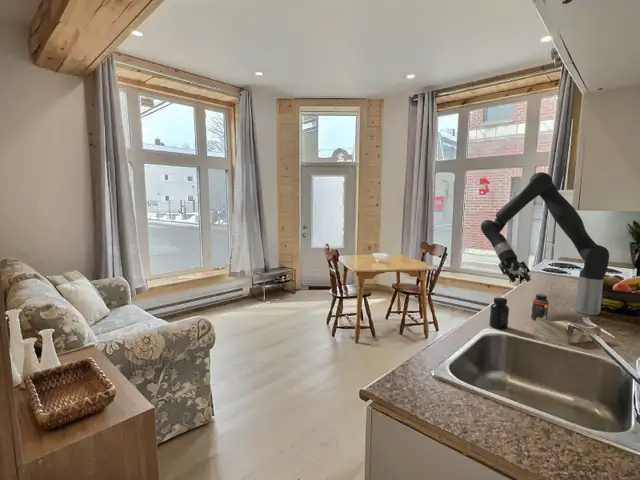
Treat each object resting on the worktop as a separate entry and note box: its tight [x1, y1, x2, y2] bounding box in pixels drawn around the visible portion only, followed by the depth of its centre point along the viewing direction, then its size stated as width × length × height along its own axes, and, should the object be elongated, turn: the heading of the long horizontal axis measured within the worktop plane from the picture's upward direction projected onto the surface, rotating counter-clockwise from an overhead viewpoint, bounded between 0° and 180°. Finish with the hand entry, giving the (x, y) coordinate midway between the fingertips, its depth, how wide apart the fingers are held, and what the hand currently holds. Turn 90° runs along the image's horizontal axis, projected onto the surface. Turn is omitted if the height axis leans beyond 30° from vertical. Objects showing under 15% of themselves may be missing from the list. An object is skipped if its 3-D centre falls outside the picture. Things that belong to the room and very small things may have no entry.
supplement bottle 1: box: [488, 296, 510, 330], centre depth 145 cm, size 7×7×12 cm
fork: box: [582, 316, 616, 339], centre depth 148 cm, size 3×20×2 cm, turn 172°
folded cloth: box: [534, 317, 602, 345], centre depth 139 cm, size 16×14×5 cm
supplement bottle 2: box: [530, 293, 550, 321], centre depth 156 cm, size 6×6×11 cm
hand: (521, 281), depth 166 cm, fingers open, 8 cm apart
